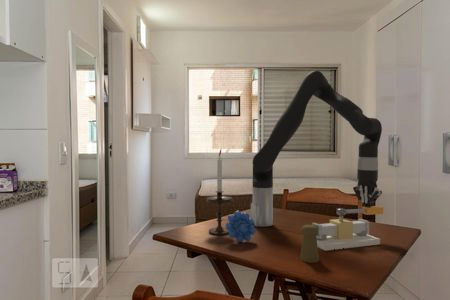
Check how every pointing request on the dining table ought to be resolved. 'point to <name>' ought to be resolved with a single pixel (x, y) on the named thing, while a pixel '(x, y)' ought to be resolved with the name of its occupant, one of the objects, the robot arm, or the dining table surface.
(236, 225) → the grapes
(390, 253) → the dining table surface
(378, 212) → the lever
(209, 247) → the dining table surface
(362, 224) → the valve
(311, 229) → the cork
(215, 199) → the candlestick
